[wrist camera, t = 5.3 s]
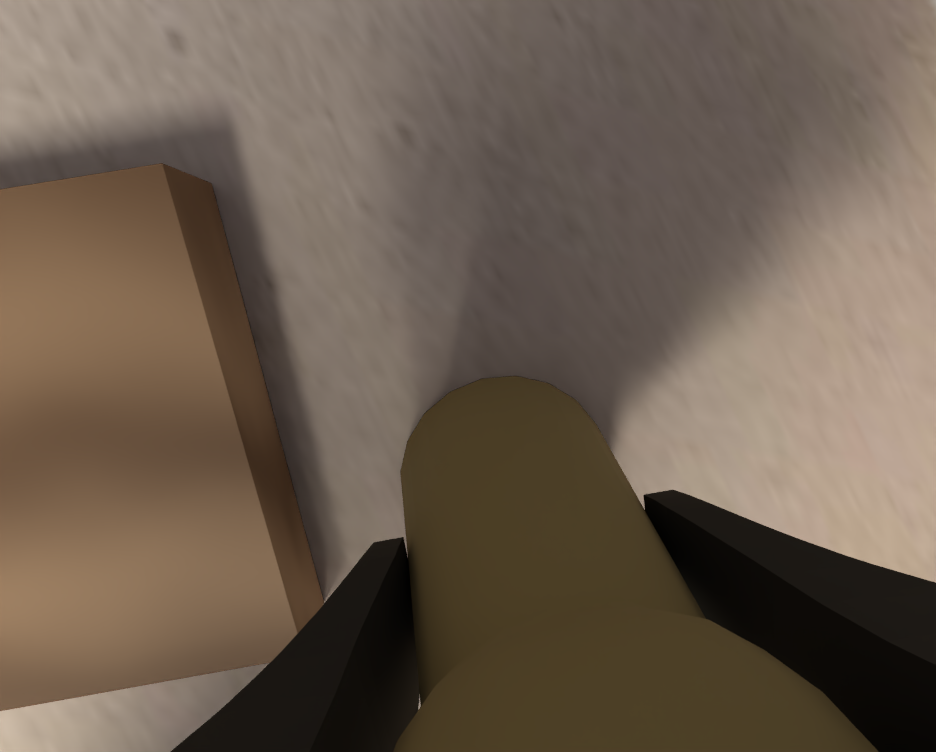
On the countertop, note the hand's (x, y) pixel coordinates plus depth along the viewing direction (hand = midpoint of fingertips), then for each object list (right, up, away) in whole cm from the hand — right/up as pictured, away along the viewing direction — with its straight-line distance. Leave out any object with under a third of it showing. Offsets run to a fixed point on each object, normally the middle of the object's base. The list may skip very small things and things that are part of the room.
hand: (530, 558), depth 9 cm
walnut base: (-13, +2, +3) cm, 13 cm away
